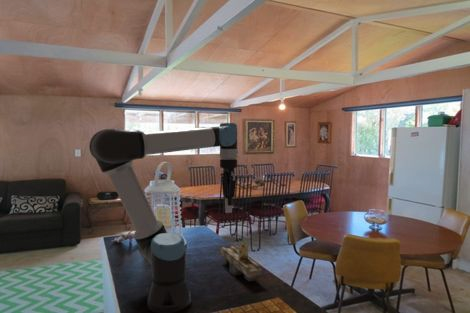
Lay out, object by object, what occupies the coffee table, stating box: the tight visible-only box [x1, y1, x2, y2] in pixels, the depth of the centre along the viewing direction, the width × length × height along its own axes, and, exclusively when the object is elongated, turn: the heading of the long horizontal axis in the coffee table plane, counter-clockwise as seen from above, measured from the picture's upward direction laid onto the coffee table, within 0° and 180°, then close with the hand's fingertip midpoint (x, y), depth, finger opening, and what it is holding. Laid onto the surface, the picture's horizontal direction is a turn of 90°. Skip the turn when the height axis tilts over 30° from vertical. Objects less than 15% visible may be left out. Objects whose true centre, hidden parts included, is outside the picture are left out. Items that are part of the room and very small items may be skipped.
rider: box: [237, 243, 249, 262], centre depth 136 cm, size 4×4×7 cm
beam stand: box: [219, 245, 262, 282], centre depth 140 cm, size 28×7×7 cm, turn 25°
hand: (228, 212), depth 142 cm, fingers closed
